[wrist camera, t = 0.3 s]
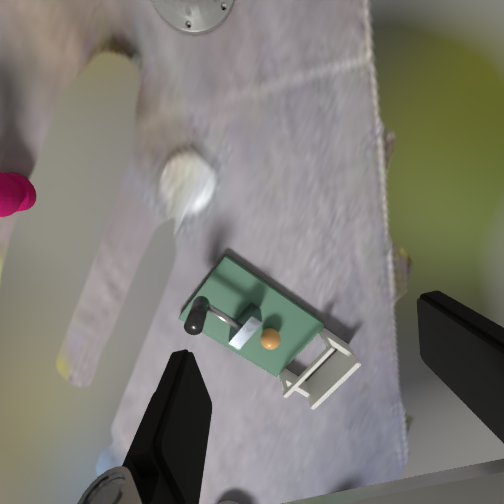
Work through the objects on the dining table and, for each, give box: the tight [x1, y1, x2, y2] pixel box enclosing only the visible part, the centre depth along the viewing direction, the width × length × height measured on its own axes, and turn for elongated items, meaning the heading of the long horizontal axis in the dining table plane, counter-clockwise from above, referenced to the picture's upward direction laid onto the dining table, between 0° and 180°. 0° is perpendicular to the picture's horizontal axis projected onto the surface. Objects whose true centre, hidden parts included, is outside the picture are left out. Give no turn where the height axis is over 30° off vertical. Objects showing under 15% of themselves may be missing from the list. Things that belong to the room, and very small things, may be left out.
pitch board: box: [179, 255, 325, 377], centre depth 50 cm, size 25×16×2 cm, turn 53°
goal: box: [279, 328, 361, 410], centre depth 51 cm, size 9×14×7 cm, turn 143°
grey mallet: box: [184, 296, 262, 349], centre depth 42 cm, size 12×7×11 cm, turn 53°
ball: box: [260, 328, 281, 350], centre depth 48 cm, size 4×4×4 cm
